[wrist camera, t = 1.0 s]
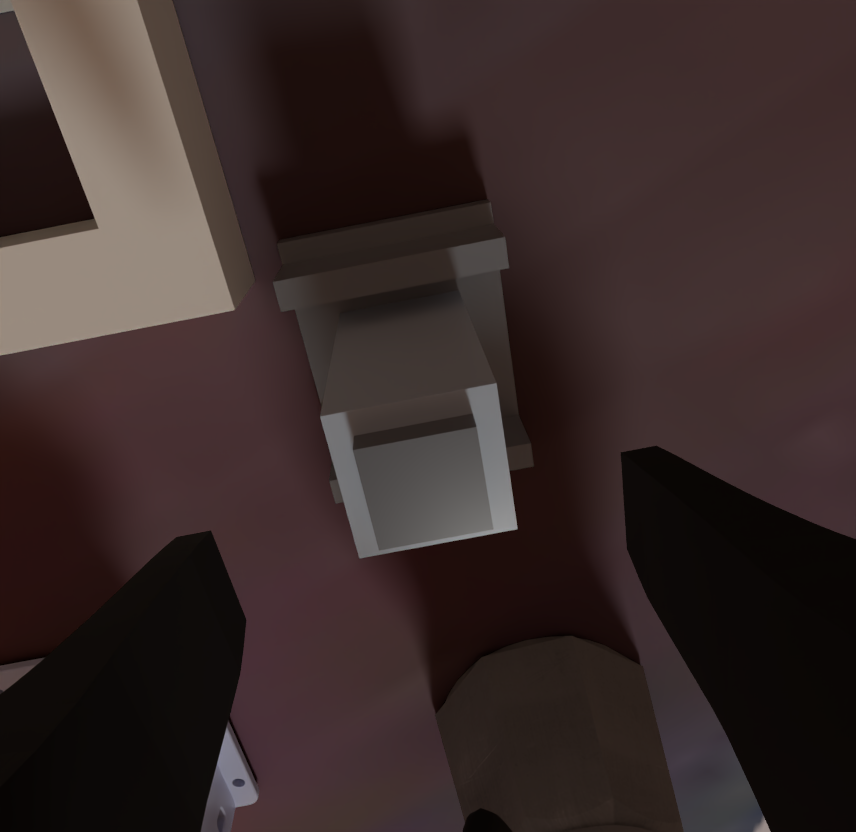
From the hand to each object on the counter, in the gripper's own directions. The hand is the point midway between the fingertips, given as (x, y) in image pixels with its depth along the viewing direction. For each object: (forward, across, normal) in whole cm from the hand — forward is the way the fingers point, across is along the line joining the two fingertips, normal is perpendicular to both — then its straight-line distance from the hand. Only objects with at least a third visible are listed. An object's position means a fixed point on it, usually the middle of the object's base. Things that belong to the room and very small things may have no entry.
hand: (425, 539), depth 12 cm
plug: (+9, 0, 0) cm, 9 cm away
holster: (+10, 0, 0) cm, 10 cm away
